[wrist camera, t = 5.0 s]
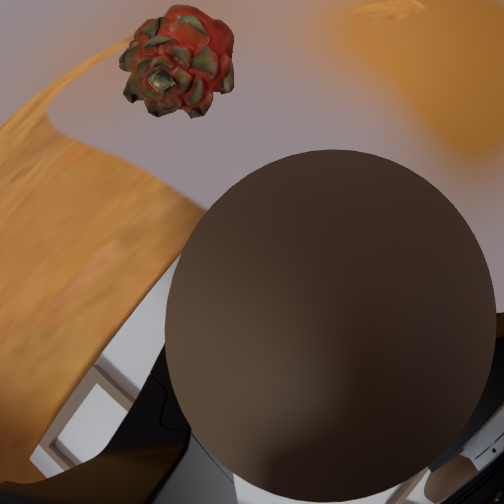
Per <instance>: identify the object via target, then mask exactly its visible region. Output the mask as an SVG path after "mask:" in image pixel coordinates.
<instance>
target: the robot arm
mask: <svg viewBox="0 0 504 504" xmlns="http://www.w3.org/2000/svg"><path fill="white" fill-rule="evenodd" d="M464 450H465V451H466V453H467V454H468V456H469V457H470V459H471V460H472V462H473V463H474V465H475V466H476V468H477V469H478V472H477V473H476V474H475V475H473V476H472V477H471V478H470V479H469V480H467V481H466V482H465V483H463V484H462V485H461V486H460V487H458V488H457V489H456V490H454V491H453V492H451V493H450V494H449V495H447V496H446V497H444V498H443V499H442V500H440V501H439V502H437V503H436V504H504V312H503V313H496V340H495V349H494V355H493V360H492V365H491V369H490V372H489V376H488V379H487V382H486V385H485V388H484V390H483V393H482V395H481V397H480V400H479V402H478V404H477V406H476V408H475V410H474V412H473V413H472V415H471V417H470V419H469V420H468V422H467V424H466V425H465V426H464V428H463V429H462V431H461V432H460V433H459V435H458V436H457V437H456V439H455V440H454V441H453V442H452V443H451V444H450V445H449V447H448V448H447V449H446V450H445V451H444V452H443V453H442V454H441V455H440V456H439V457H438V458H437V459H435V460H434V461H433V462H432V463H431V464H430V465H428V466H427V467H428V468H429V470H430V471H431V473H433V472H435V471H436V470H438V469H439V468H441V467H442V466H444V465H445V464H446V463H448V462H449V461H451V460H452V459H453V458H455V457H456V456H457V455H459V454H460V453H461V452H463V451H464ZM234 484H235V483H234V476H233V473H232V472H231V471H230V470H228V469H227V468H226V467H225V466H224V465H223V464H222V463H221V462H219V461H218V460H217V459H216V458H215V457H214V456H213V455H212V454H211V453H210V452H209V451H208V449H207V448H206V447H205V446H204V445H203V443H202V442H201V441H200V440H199V438H198V437H197V436H196V434H195V433H194V431H193V430H192V428H191V426H190V424H189V423H188V421H187V419H186V417H185V416H184V414H183V412H182V410H181V408H180V405H179V403H178V400H177V397H176V395H175V392H174V389H173V387H172V383H171V379H170V374H169V370H168V365H167V360H166V350H165V343H164V345H163V347H162V349H161V351H160V353H159V355H158V357H157V359H156V361H155V363H154V365H153V367H152V369H151V371H150V374H149V375H148V377H147V379H146V381H145V383H144V385H143V387H142V389H141V391H140V393H139V394H138V396H137V398H136V400H135V401H134V403H133V405H132V406H131V408H130V410H129V411H128V413H127V414H126V416H125V418H124V419H123V421H122V422H121V424H120V425H119V427H118V429H117V430H116V432H115V433H114V435H113V436H112V438H111V440H110V441H109V443H108V444H107V445H106V447H105V448H104V449H103V450H102V451H101V452H100V453H99V454H98V455H96V456H95V457H94V458H92V459H90V460H88V461H86V462H83V463H81V464H79V465H77V466H75V467H73V468H70V469H68V470H66V471H64V472H61V473H59V474H57V475H54V476H52V477H49V478H47V479H45V480H42V481H39V482H35V483H30V484H20V483H15V482H10V481H4V482H2V483H0V504H238V500H237V494H236V488H235V485H234Z"/></svg>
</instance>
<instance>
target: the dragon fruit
mask: <svg viewBox="0 0 504 504" xmlns="http://www.w3.org/2000/svg"><path fill="white" fill-rule="evenodd" d="M134 39H135V40H133V41H132V42H131V43H130V44H129V46H130V47H129V48H127V49H126V51H125V52H124V53H123V54H122V55H121V57H120V59H119V63H120V65H119V67H120V68H121V69H122V70H123V71H127V72H128V71H129V72H132V74H131V75H130V77H129V79H128V81H127V84H126V87H125V89H124V92H123V95H124V96H125V97H126V98H127V100H128V101H129V102H131V103H134V102H135V101H137V100H144V102H145V105H146V107H147V109H148V113H150V114H152V115H154V116H156V117H160V116H163V115H166V114H169V113H173V112H175V111H176V110H178V109H182V110H184V111H185V112H186V113H188V114H189V116H190V117H191V118H194V117H200V116H204V115H205V114H206V112H207V111H208V109H209V107H210V106H211V103H212V101H213V92H220V93H221V94H225V93H229V92H231V91H232V90H233V88H234V70H233V64H232V61H231V60H232V52H233V44H234V35H233V33H232V31H231V30H230V28H229V27H228V26H227V25H226V24H225V23H224V22H222V21H221V20H215V19H212V18H210V17H209V16H208V15H206V14H205V13H203V12H202V11H200V10H199V9H197V8H195V7H193V6H189V5H173V6H172V7H170V9H169V10H168V11H167V12H166V14H165V15H164V17H159V18H157V19H148V20H146V21H145V22H144V23H143V25H141V26H140V27H139V28H138V29H137V31H136V32H135V34H134Z"/></svg>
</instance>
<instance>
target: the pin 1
mask: <svg viewBox="0 0 504 504" xmlns="http://www.w3.org/2000/svg"><path fill="white" fill-rule="evenodd" d="M164 332H165V350H166V360H167V365H168V370H169V374H170V379H171V383H172V387H173V389H174V392H175V395H176V397H177V400H178V403H179V405H180V408H181V410H182V412H183V414H184V416H185V417H186V419H187V421H188V423H189V424H190V426H191V428H192V430H193V431H194V433H195V434H196V436H197V437H198V438H199V440H200V441H201V442H202V443H203V445H204V446H205V447H206V448H207V449H208V451H209V452H210V453H211V454H212V455H213V456H214V457H215V458H216V459H217V460H218V461H219V462H221V463H222V464H223V465H224V466H225V467H226V468H227V469H228V470H230V471H231V472H232V473H234V474H235V475H237V476H238V477H240V478H242V479H243V480H245V481H246V482H248V483H249V484H251V485H253V486H255V487H258V488H260V489H262V490H264V491H267V492H269V493H272V494H274V495H278V496H281V497H285V498H289V499H293V500H298V501H306V502H316V503H331V502H345V501H351V500H356V499H361V498H366V497H369V496H372V495H375V494H378V493H381V492H384V491H386V490H389V489H391V488H393V487H395V486H397V485H399V484H401V483H403V482H405V481H407V480H408V479H410V478H411V477H413V476H415V475H416V474H418V473H419V472H421V471H422V470H423V469H425V468H426V467H427V466H428V465H430V464H431V463H432V462H433V461H434V460H435V459H437V458H438V457H439V456H440V455H441V454H442V453H443V452H444V451H445V450H446V449H447V448H448V447H449V445H450V444H451V443H452V442H453V441H454V440H455V439H456V437H457V436H458V435H459V433H460V432H461V431H462V429H463V428H464V426H465V425H466V424H467V422H468V420H469V419H470V417H471V415H472V413H473V412H474V410H475V408H476V406H477V404H478V402H479V400H480V397H481V395H482V393H483V390H484V388H485V385H486V382H487V379H488V376H489V372H490V369H491V365H492V360H493V355H494V349H495V340H496V305H495V297H494V291H493V285H492V281H491V277H490V273H489V269H488V266H487V263H486V260H485V258H484V255H483V252H482V250H481V248H480V246H479V244H478V242H477V240H476V238H475V236H474V234H473V233H472V231H471V229H470V227H469V226H468V224H467V223H466V221H465V220H464V218H463V217H462V216H461V214H460V213H459V212H458V210H457V209H456V208H455V207H454V205H453V204H452V203H451V202H450V201H449V200H448V199H447V198H446V197H445V196H444V195H443V194H442V193H441V192H440V191H439V190H438V189H437V188H435V187H434V186H433V185H431V184H430V183H429V182H428V181H426V180H425V179H424V178H422V177H421V176H419V175H418V174H416V173H414V172H413V171H411V170H410V169H408V168H406V167H404V166H402V165H399V164H397V163H395V162H393V161H391V160H388V159H385V158H382V157H378V156H376V155H372V154H368V153H362V152H357V151H350V150H319V151H309V152H305V153H300V154H296V155H291V156H288V157H285V158H282V159H280V160H277V161H274V162H272V163H269V164H267V165H265V166H263V167H262V168H260V169H258V170H256V171H254V172H252V173H250V174H249V175H247V176H246V177H245V178H243V179H242V180H240V181H239V182H238V183H236V184H235V185H234V186H232V187H231V188H230V189H229V190H228V191H227V192H226V193H225V194H223V195H222V196H221V197H220V198H219V199H218V200H217V201H216V202H215V203H214V204H213V205H212V206H211V208H210V209H209V210H208V212H207V213H206V214H205V215H204V217H203V218H202V219H201V221H200V222H199V223H198V224H197V226H196V227H195V229H194V231H193V233H192V234H191V236H190V238H189V240H188V241H187V243H186V245H185V247H184V249H183V251H182V253H181V256H180V258H179V261H178V264H177V266H176V269H175V271H174V274H173V278H172V282H171V286H170V290H169V294H168V299H167V305H166V316H165V328H164Z"/></svg>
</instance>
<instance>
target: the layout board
mask: <svg viewBox="0 0 504 504" xmlns="http://www.w3.org/2000/svg"><path fill="white" fill-rule="evenodd" d="M180 256H181V254H180V255H179V257H178V258H177V259H176V260H175V261H174V263H173V264H172V265H171V266H170V267H169V269H168V270H167V271H166V272H165V273H164V275H163V276H162V277H161V278H160V279H159V281H158V282H157V283H156V284H155V286H154V287H153V288H152V289H151V291H150V292H149V293H148V294H147V296H146V297H145V298H144V299H143V301H142V302H141V303H140V304H139V306H138V307H137V308H136V309H135V311H134V312H133V313H132V314H131V316H130V317H129V318H128V320H127V321H126V322H125V323H124V325H123V326H122V327H121V329H120V330H119V331H118V332H117V334H116V335H115V336H114V338H113V339H112V340H111V342H110V343H109V344H108V346H107V347H106V348H105V350H104V351H103V352H102V354H101V355H100V356H99V358H98V359H97V360H96V362H95V363H94V364H93V365H92V367H91V368H90V369H89V371H88V372H87V373H86V375H85V376H84V378H83V379H82V380H81V382H80V383H79V385H78V386H77V387H76V389H75V390H74V392H73V393H72V394H71V396H70V397H69V399H68V400H67V402H66V403H65V405H64V406H63V407H62V409H61V410H60V412H59V413H58V415H57V416H56V418H55V419H54V421H53V422H52V424H51V425H50V427H49V428H48V430H47V431H46V433H45V434H44V436H43V438H42V439H41V441H40V442H39V444H38V446H37V447H36V449H35V451H34V452H33V454H32V455H31V457H30V459H29V460H30V461H31V462H32V463H33V464H34V465H35V466H36V467H37V468H38V469H39V470H40V471H41V472H42V473H43V474H44V475H45V476H46V477H47V478H49V477H52V476H54V475H57V474H59V473H61V472H64V471H66V470H68V469H70V468H73V467H75V466H77V465H79V464H81V463H83V462H86V461H88V460H90V459H92V458H94V457H95V456H96V455H98V454H99V453H100V452H101V451H102V450H103V449H104V448H105V447H106V445H107V444H108V443H109V441H110V440H111V438H112V436H113V435H114V433H115V432H116V430H117V429H118V427H119V425H120V424H121V422H122V421H123V419H124V418H125V416H126V414H127V413H128V411H129V410H130V408H131V406H132V405H133V403H134V401H135V400H136V398H137V396H138V394H139V393H140V391H141V389H142V387H143V385H144V383H145V381H146V379H147V377H148V375H149V374H150V371H151V369H152V367H153V365H154V363H155V361H156V359H157V357H158V355H159V353H160V351H161V349H162V347H163V345H164V343H165V332H164V328H165V316H166V305H167V299H168V294H169V290H170V286H171V282H172V278H173V274H174V271H175V269H176V266H177V264H178V261H179V258H180ZM459 455H462V456H464V457H467V458H470V457H469V456H468V454H467V453H466V451H465V450H464V451H463V452H461V453H460V454H459ZM430 473H431V471H430V470H429V468H428V467H426V468H425V469H423V470H422V471H421V472H419V473H418V474H416V475H415V476H413V477H411V478H410V479H408V480H407V481H405V482H403V483H401V484H399V485H397V486H395V487H393V488H391V489H389V490H386V491H384V492H381V493H378V494H375V495H372V496H369V497H366V498H361V499H356V500H351V501H345V502H331V503H316V502H306V501H298V500H293V499H289V498H285V497H281V496H278V495H274V494H272V493H269V492H267V491H264V490H262V489H260V488H258V487H255V486H253V485H251V484H249V483H248V482H246V481H245V480H243V479H242V478H240V477H238V476H237V475H235V474H234V473H233V476H234V483H235V484H234V485H235V488H236V494H237V500H238V504H434V503H433V502H431V501H430V500H428V499H427V498H426V497H425V495H424V486H425V483H426V481H427V478H428V477H429V475H430Z"/></svg>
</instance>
